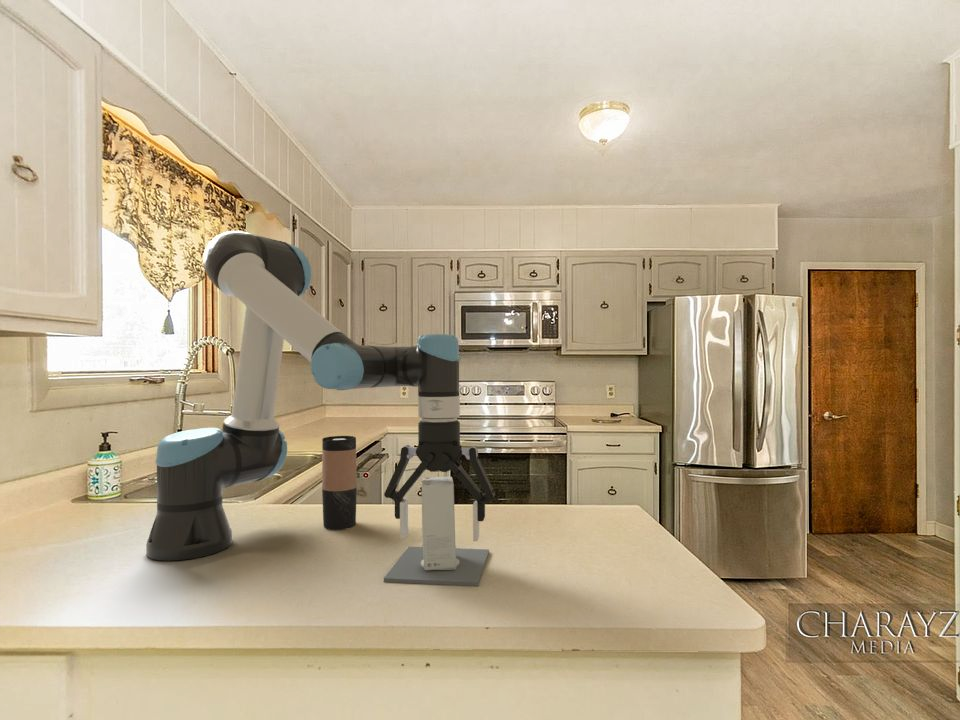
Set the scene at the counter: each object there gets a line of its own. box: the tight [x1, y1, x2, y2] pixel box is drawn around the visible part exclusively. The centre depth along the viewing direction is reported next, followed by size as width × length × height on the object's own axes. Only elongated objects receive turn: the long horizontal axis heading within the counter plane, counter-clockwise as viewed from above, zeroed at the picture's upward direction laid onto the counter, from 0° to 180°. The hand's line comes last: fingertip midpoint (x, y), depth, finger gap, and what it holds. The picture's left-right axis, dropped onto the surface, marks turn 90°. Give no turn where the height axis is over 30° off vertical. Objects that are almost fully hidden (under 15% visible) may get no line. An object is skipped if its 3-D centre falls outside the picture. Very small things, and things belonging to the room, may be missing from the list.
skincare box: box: [421, 476, 457, 570], centre depth 97 cm, size 8×6×15 cm
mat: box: [383, 546, 490, 587], centre depth 97 cm, size 16×16×1 cm
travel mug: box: [321, 435, 358, 531], centre depth 123 cm, size 8×8×20 cm
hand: (439, 537), depth 97 cm, fingers open, 13 cm apart
